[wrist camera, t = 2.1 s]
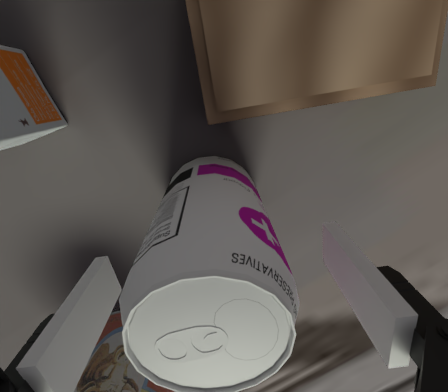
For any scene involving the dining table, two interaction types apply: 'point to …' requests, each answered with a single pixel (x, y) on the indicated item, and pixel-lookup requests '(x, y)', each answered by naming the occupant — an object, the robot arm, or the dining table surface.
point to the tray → (311, 52)
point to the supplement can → (209, 286)
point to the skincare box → (24, 101)
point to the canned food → (113, 365)
